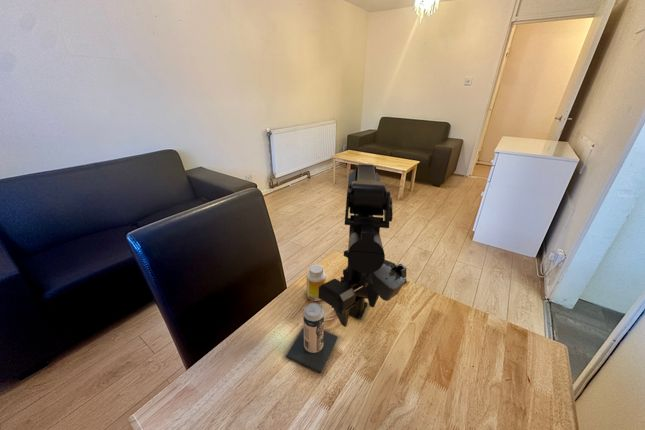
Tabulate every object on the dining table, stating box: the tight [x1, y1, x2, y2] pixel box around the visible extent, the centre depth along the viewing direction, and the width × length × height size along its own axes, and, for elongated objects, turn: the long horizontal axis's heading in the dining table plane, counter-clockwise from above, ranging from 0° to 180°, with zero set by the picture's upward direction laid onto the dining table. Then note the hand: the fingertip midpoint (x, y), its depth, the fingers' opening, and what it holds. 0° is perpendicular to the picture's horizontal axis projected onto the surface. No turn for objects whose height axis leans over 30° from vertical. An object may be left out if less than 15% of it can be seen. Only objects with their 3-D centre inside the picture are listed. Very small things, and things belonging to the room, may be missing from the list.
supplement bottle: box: [306, 263, 327, 302], centre depth 77 cm, size 6×6×10 cm
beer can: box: [302, 302, 325, 353], centre depth 61 cm, size 5×5×12 cm
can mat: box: [285, 327, 339, 374], centre depth 63 cm, size 10×9×1 cm
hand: (358, 315), depth 55 cm, fingers open, 9 cm apart
